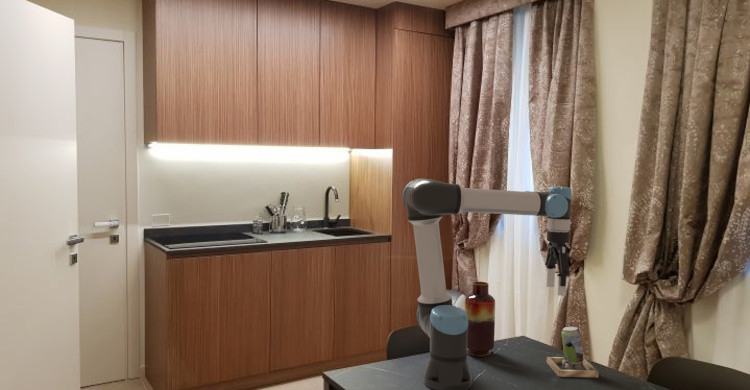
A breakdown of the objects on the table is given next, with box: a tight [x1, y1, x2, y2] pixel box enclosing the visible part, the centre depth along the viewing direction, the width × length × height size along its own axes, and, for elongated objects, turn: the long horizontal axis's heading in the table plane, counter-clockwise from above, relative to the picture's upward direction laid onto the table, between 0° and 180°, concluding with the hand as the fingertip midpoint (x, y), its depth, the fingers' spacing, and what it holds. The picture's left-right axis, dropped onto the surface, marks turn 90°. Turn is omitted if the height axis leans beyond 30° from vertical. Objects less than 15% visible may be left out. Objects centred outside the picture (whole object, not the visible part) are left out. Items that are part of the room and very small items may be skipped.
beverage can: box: [561, 326, 584, 364], centre depth 182 cm, size 6×7×12 cm
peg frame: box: [546, 356, 599, 378], centre depth 183 cm, size 13×13×2 cm
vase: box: [464, 281, 496, 358], centre depth 198 cm, size 11×11×26 cm
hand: (555, 291), depth 188 cm, fingers open, 13 cm apart
